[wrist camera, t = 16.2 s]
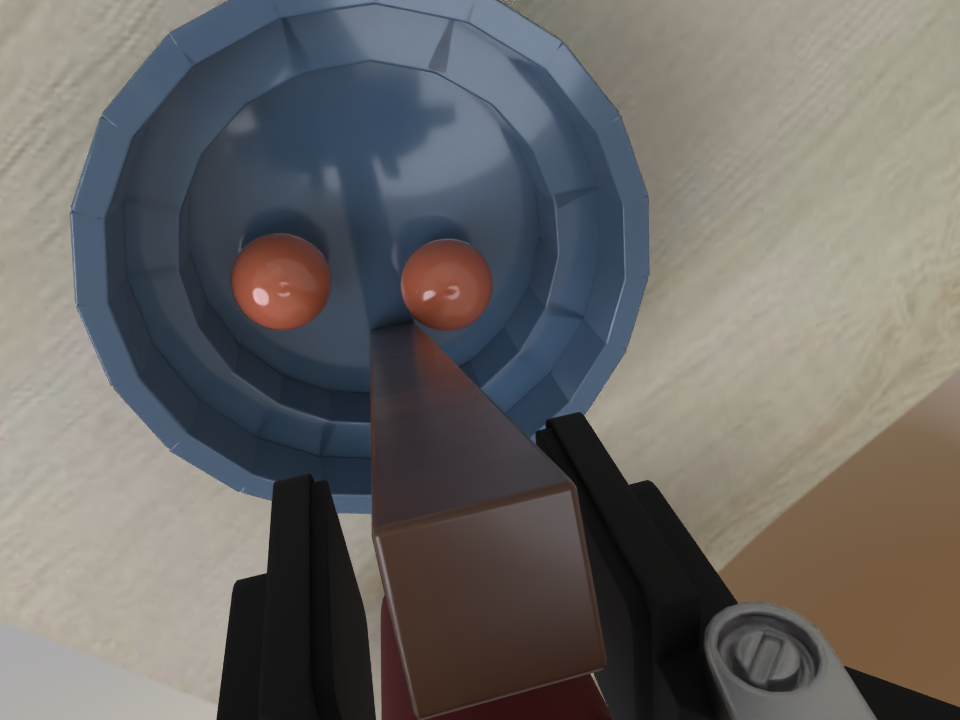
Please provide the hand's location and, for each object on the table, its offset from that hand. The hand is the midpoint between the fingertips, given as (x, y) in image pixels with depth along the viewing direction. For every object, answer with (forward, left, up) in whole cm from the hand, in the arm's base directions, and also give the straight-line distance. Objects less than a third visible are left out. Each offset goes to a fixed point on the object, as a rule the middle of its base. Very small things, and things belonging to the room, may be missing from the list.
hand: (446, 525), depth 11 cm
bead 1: (-3, 0, -13) cm, 13 cm away
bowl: (0, 0, -15) cm, 15 cm away
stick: (0, -4, -14) cm, 14 cm away
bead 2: (+2, -1, -13) cm, 13 cm away
